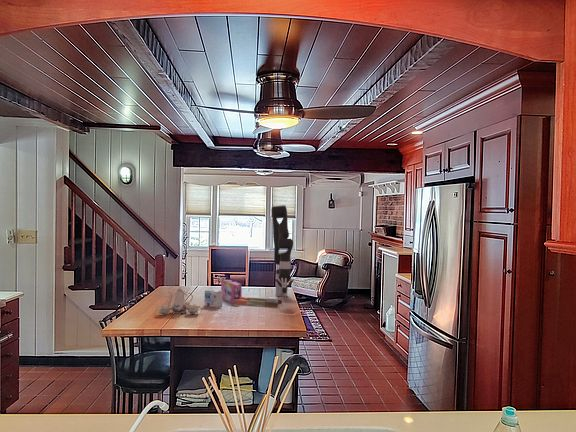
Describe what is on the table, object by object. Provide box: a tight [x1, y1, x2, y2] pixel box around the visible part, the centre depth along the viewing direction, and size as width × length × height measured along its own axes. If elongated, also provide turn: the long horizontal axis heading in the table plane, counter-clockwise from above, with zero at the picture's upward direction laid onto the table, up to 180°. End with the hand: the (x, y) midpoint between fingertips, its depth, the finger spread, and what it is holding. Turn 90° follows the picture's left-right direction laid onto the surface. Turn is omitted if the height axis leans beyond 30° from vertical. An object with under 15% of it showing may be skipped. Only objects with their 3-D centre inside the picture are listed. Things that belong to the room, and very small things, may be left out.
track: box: [233, 297, 283, 309], centre depth 316 cm, size 14×31×4 cm, turn 75°
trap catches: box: [234, 296, 252, 306], centre depth 319 cm, size 11×8×3 cm
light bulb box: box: [204, 288, 223, 308], centre depth 313 cm, size 11×7×11 cm, turn 62°
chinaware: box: [155, 286, 203, 316], centre depth 288 cm, size 28×17×17 cm, turn 106°
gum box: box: [220, 278, 243, 303], centre depth 335 cm, size 24×8×14 cm, turn 28°
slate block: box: [266, 296, 279, 302], centre depth 313 cm, size 6×6×5 cm
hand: (284, 293), depth 311 cm, fingers closed
